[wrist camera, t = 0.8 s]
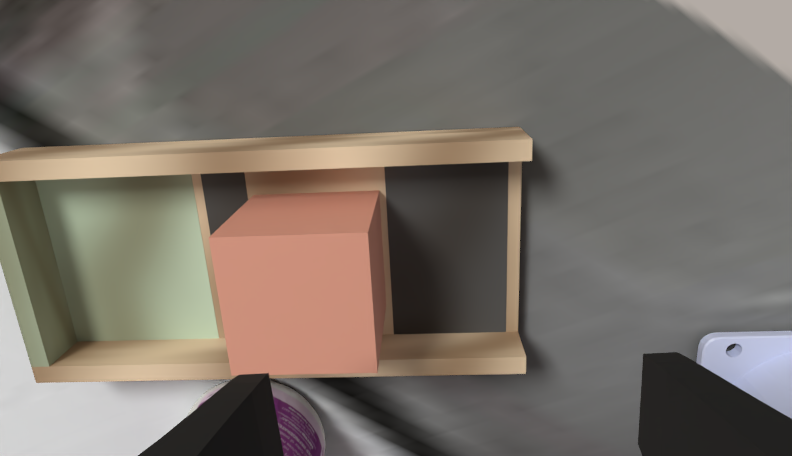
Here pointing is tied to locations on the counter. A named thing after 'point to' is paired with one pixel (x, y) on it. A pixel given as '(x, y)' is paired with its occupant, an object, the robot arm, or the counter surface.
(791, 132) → the counter surface
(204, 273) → the box
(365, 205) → the red block
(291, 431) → the pill bottle
